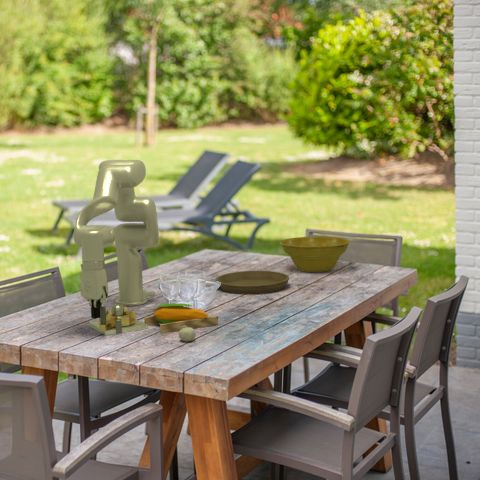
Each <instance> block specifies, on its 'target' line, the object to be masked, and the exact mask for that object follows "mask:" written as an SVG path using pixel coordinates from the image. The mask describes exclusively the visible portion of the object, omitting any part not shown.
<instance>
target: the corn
mask: <svg viewBox="0 0 480 480" xmlns="http://www.w3.org/2000/svg"><path fill="white" fill-rule="evenodd" d="M192 306H193V305H192V304H189V303H188V304H186V303H164V304H161V305H159V306H157V307H156V308H155V309H154V310H153V316H154V317H155V318H156V319H157V320H158V321H160V322H162V323H163V324H166V323H172V322H179V321H185V320H192V319H203V318H207V317H209V316H208V315H209V314H208V313H206V312H205V311H203V310H202V309H201V310H198V309H199V308H198V309H197V308H193V307H192Z"/></svg>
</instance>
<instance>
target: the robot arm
mask: <svg viewBox="0 0 480 480" xmlns="http://www.w3.org/2000/svg"><path fill="white" fill-rule="evenodd" d="M146 171H147V170H146V166H145V163H144V162H143V161H142V160H141V159H108V160H104V161H101V162H100V163H99V165H98V171H97V176H96V181H95V185H94V186H95V187H94V192H93V198H92V200H91V201H90V202H88V203H87V204H86V205H85V206H84V207H83V208H82V209H81V210H80V211H79V213H78V214H77V216H76V218H75V219H76V220H75V225H74V230H73V241H74V243H75V245H76V246H78V247H80V248H81V261H82V262H81V263H82V265H81V266H82V268H81V272H80V283H79V284H80V296H81V297H83V299H85V300H86V301H87V302H88V305H89V307H90V315H91V316H90V317H91V319H95V320H96V319H99V318H100V307H102V306H103V303H104V304H105V303H107V301H108V300H107V298H108V297H109V285H108V284H109V283H108V276H107V271H106V262H105V248H109V247H111V246H112V245H114V244H115V249H116V261H117V278H118V280H117V282H118V298H117V299H115V301H114V302H115V303H114V304H122V305H123V306H125V307H130V306H132V307H134V306H141V305H145V304H147V303H148V297H154V296H156V292H155V290H147V291H146V290H144V284H143V282H144V281H143V280H144V279H143V261H142V260H143V259H142V256H141V254H140V252H139V251H138V250H137V249H138V248H139V249H140V248H155V247H156V246H157V245H158V244H159V242H160V231H159V222H158V214H157V213H158V212H157V206H156V203H155V202H156V201H154V199H153V198H152V197H148V196H136V194H135V188H136V187H137V186H139V185H140V184H141V183H142V182H143V181H144V180H145V178H146V174H147V172H146ZM112 210H114V215H115V217H116V220H117V221H119V222H124V223H120V224H117V226H115V228H113V226H110V225H106V224H105V225H102V224H101V225H99V224H95V225H94V224H93V225H92V224H90V225H88V223H90V222H91V220H93V219H94V218H96V217H99V216H101V215H103V214H106V213H108V212H110V211H112Z"/></svg>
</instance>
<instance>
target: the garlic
mask: <svg viewBox="0 0 480 480" xmlns="http://www.w3.org/2000/svg"><path fill="white" fill-rule="evenodd" d="M183 327H186V328H183ZM182 328H183V329H181V330H180V331H178V338H179V339H180V340H181V341H183V342H188V343H189V342H192V341H194V340H195V339H196V337H197V336H196V335H197V334H196V331H195V328H194V329H192V328H190V327H187V326H185V325H184V326H182Z"/></svg>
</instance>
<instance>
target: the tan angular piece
mask: <svg viewBox="0 0 480 480" xmlns="http://www.w3.org/2000/svg"><path fill="white" fill-rule="evenodd" d="M117 319H121V320H122V326H128V325H132V324H134V323H135V322H136V319H137V313H136V312H135V310H130V309H128V306H123V316H119V317H115V313H112V311H111V310H109V308H108V309H107V307H106V306H103V305H102V306H101V307H100V318H98V321H99V330H101V331H106V330H108V329H110V328H112V327H116V321H115V320H117Z"/></svg>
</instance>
